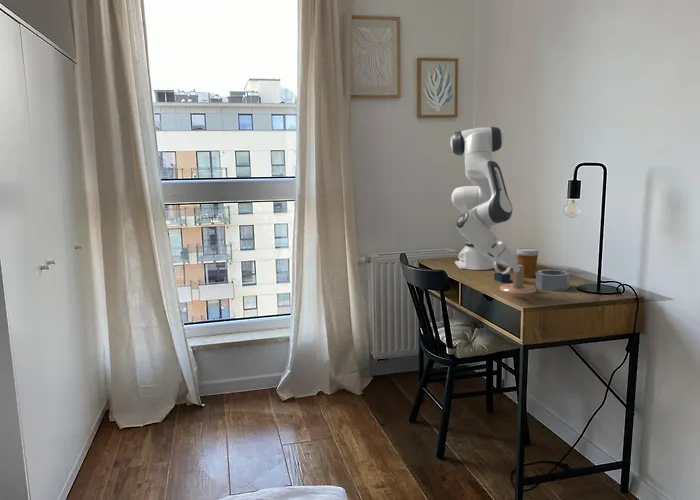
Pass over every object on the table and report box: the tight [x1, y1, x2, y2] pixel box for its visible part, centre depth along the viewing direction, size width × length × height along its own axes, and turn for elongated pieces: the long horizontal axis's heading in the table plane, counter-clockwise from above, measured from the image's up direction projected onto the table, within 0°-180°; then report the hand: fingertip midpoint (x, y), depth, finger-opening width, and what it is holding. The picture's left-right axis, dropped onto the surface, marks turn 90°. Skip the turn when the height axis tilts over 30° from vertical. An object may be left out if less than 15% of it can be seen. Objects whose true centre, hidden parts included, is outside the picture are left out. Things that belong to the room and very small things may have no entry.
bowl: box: [535, 269, 571, 292], centre depth 228 cm, size 12×12×6 cm
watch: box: [493, 261, 512, 284], centre depth 241 cm, size 6×8×11 cm
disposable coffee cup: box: [516, 247, 540, 279], centre depth 249 cm, size 10×10×12 cm
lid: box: [499, 264, 537, 295], centre depth 225 cm, size 14×14×10 cm
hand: (512, 268), depth 223 cm, fingers open, 8 cm apart
